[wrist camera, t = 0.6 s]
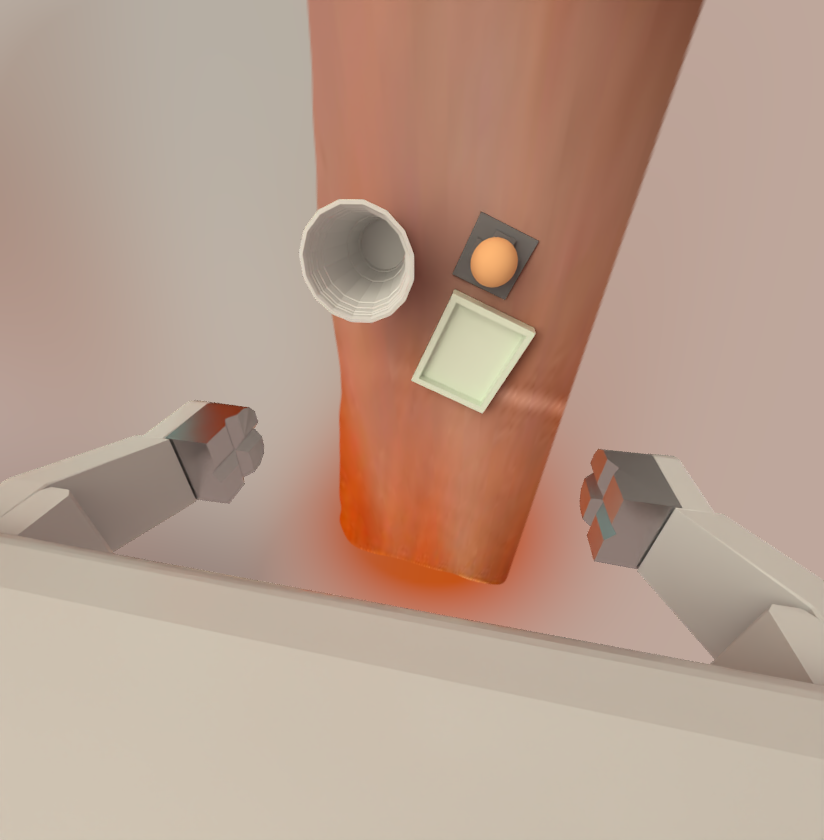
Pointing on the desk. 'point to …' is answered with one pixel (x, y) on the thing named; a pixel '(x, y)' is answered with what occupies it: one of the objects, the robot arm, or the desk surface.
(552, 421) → the desk surface
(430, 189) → the desk surface
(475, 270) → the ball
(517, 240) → the coaster
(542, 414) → the desk surface
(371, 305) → the plastic cup
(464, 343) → the tray
